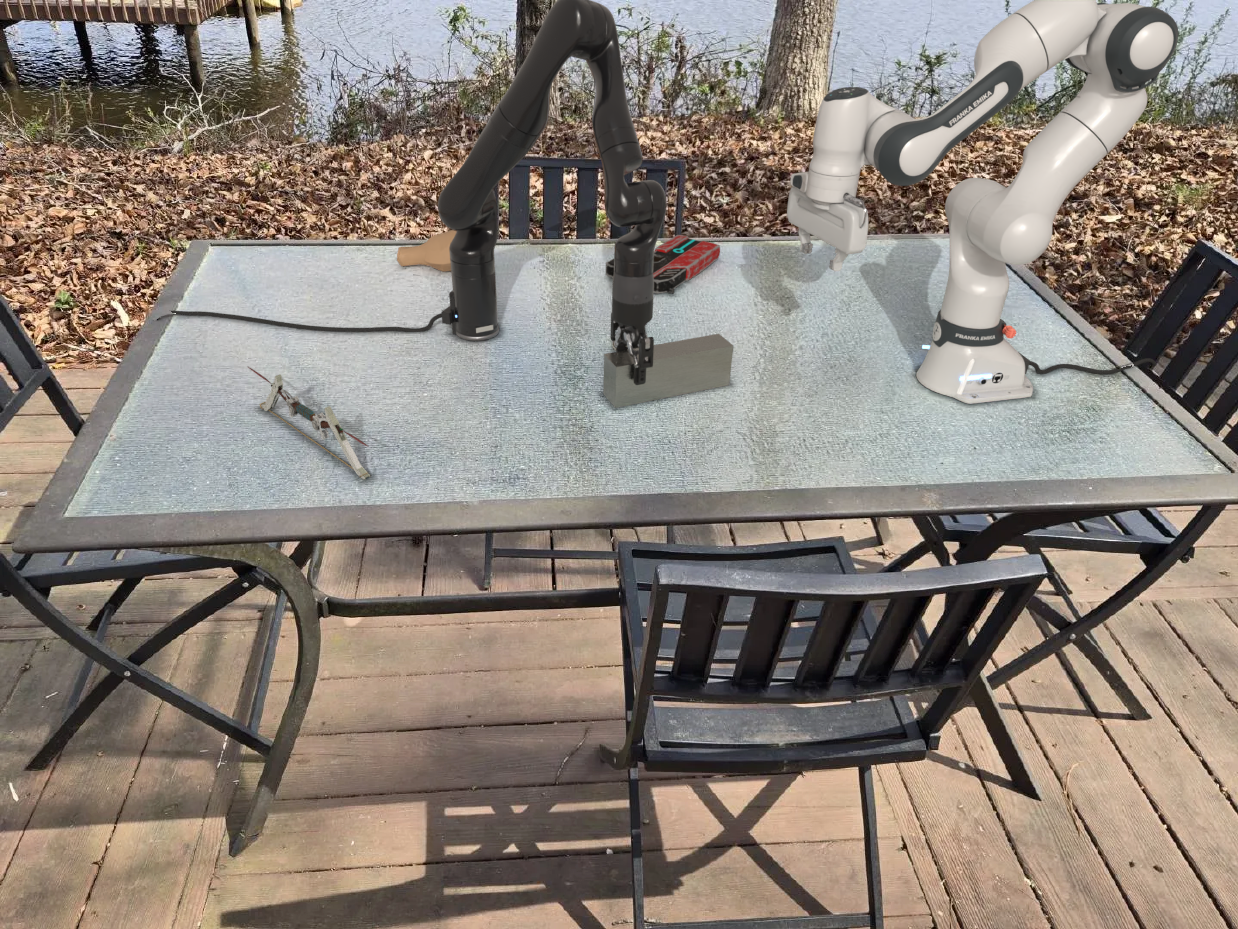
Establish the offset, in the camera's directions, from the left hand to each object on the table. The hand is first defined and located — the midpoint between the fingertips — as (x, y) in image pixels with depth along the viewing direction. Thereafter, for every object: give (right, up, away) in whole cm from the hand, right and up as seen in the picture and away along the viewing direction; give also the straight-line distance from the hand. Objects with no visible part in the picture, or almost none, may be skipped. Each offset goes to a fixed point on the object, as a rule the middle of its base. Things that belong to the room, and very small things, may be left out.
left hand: (630, 374), depth 168 cm
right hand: (+35, +21, -4) cm, 41 cm away
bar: (+7, -2, +6) cm, 10 cm away
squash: (-49, +33, +57) cm, 82 cm away
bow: (-56, -13, -13) cm, 59 cm away
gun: (+10, +33, +58) cm, 68 cm away
